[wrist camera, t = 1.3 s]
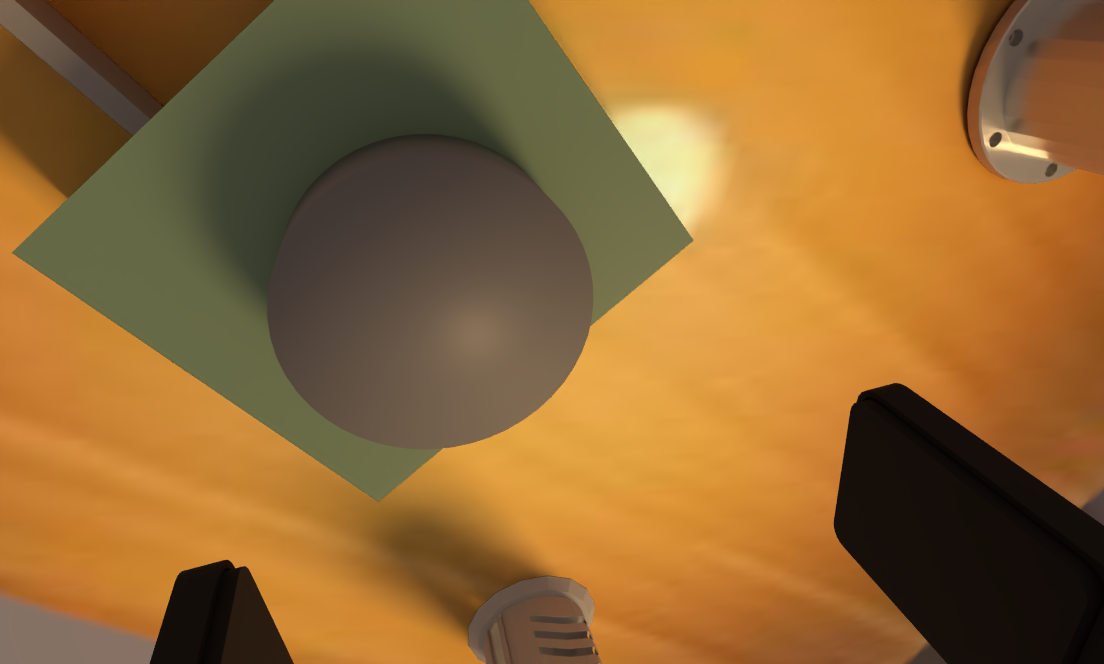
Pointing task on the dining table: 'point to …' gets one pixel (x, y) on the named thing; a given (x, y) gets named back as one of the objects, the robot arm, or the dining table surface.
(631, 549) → the dining table surface
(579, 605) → the french press
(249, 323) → the green box with dome
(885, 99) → the dining table surface
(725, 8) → the dining table surface
